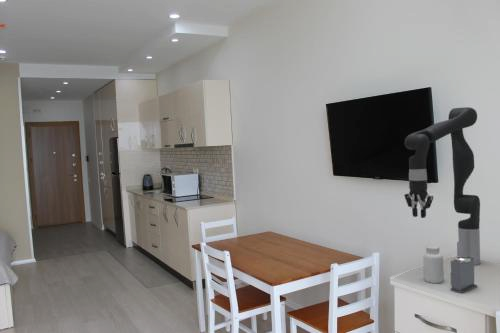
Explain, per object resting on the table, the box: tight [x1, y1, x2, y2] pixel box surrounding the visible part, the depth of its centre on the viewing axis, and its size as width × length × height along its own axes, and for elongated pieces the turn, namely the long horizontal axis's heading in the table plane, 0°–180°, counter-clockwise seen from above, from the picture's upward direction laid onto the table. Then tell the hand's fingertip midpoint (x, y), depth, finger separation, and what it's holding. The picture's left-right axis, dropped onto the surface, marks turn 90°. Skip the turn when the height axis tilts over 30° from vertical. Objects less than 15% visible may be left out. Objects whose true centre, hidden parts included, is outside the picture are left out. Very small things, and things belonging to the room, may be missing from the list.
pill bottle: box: [422, 245, 445, 284], centre depth 188 cm, size 8×8×15 cm
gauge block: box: [449, 255, 478, 295], centre depth 177 cm, size 6×11×13 cm, turn 123°
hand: (419, 216), depth 193 cm, fingers open, 3 cm apart
